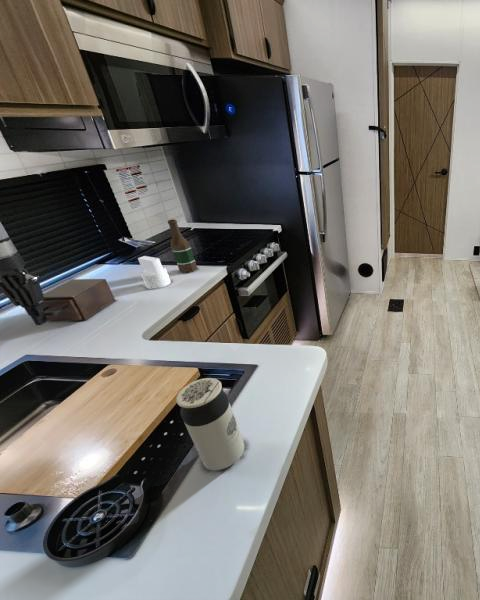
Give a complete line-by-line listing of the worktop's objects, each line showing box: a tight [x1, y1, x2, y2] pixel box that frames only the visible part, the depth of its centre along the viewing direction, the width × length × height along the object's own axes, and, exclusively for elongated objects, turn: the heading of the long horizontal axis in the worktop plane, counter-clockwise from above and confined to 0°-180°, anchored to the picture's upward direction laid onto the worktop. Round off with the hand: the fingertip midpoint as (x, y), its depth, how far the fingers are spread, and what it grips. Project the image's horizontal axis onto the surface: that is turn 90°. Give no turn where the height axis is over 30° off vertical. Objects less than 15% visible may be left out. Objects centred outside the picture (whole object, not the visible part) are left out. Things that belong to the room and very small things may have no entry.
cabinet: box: [43, 278, 117, 322], centre depth 122 cm, size 15×13×10 cm
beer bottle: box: [167, 219, 198, 274], centre depth 151 cm, size 8×8×24 cm
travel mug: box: [175, 377, 245, 471], centre depth 66 cm, size 8×8×18 cm
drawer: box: [40, 299, 83, 322], centre depth 118 cm, size 18×11×8 cm, turn 1°
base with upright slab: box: [137, 255, 172, 290], centre depth 141 cm, size 9×9×12 cm
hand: (42, 323), depth 109 cm, fingers closed
